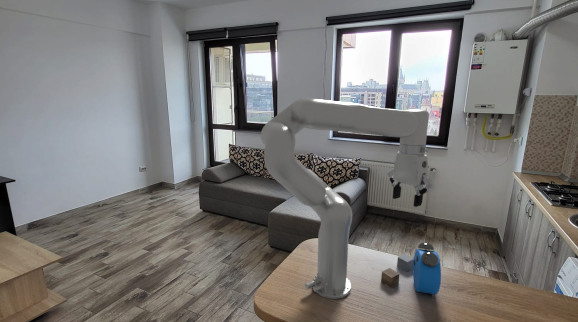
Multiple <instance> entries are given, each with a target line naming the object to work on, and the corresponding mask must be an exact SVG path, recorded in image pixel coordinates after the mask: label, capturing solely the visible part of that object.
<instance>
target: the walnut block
mask: <svg viewBox="0 0 578 322" xmlns="http://www.w3.org/2000/svg"><path fill="white" fill-rule="evenodd" d="M380 277H381V279H380V282H381V284H382V283H383V284H384V285H385V286H387V287H388V288H389V289H392V288H394V287H396V286H397V285H399V284H400V283H399V282H400V273H399V272H398V271H396V270H395V269H392V268H391V267H389V268H386V269H384V270H383V271H381V276H380Z"/></svg>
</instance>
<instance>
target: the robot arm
mask: <svg viewBox="0 0 578 322" xmlns="http://www.w3.org/2000/svg"><path fill="white" fill-rule="evenodd" d="M429 117H430V115H429V112H428V110H425V109H414V108H413V109H405V110H404V109H397V108H396V109H395V108H383V107H376V106H371V105H365V104H361V103H356V102H355V103H354V102H348V101H336V100H327V99H318V98H310V97H301V98H298V99H297V100H295V101H294V102H292V103H290V105H288V106H287V107H286V108H284V109H283V110H282V111H281V112H279V113H278V114H277V115H276V116H274V117H273V118H272V119H270V120H269V121H268V122H266V124H265V125H264V126H263V127H262V129H261V131H260V137H261V141H262V143H263V145H264V153H263V155H264V156H263V157H264V164H265V167H266V170H267V172H268V173H269V175H270V176H272V178H274V179H275V180H276V181H277V182H278V184H280V185H281V186H282V187H283V188H285V189H286V190H287V191H288V193H290V194H291V195H292V196H294V197H295V198H296V200H297V201H298V202H300V203H301V204H303V205H305V206H308V207H310V208H311V209H312V210H313V211H314V212H315V213H316V215H317V216H318V217H319V220H320V226H319V229H318V234H317V235H318V238H317V272H316V274H314V278H313V279H312V280H309V281H308V282H305V284H304V286H305V289H306V290H310V289H312V288H313V289H312V290H313V292H315V293H316V294H318V295H320V296H322V298H327V299H333V300H337V299H343V298H344V297H346V296H348V295H349V293H350V292H351V289H352V284H351V281H350V280H349V279H348V278H347V273H348V257H349V255H348V254H349V236H350V229H351V225H352V221H353V210H352V206H351V205H350V204H349V203H348V202H347V200H346V199H344V198H343V197H342V196H341V195H339V194H338V192H336V191H335V190H334V189H333V188H331V186H329V185H328V184H327V183H326V182H325V181H324V180H322V179H321V178H320V177H319V176H318V174H316V173H315V172H314V171H312V169H309V168H307V167H306V166H304V165H303V164H302V162H300V161H299V160H298V159H297V158H296V156H295V149H296V148H295V147H296V135H298V133H300V131H302V130H303V129H309V130H316V131H329V132H338V133H339V132H342V133H352V134H358V135H359V134H360V135H374V136H380V137H381V136H383V137H390V138H391V137H392V138H393V137H394V138H400V139H399V150H398V151H397V153H396V155H395V156H396V157H395V160H394V164H393V169H391V170H390V171H388V172H387V176H388V178H389V181H390V183H391V187H392V199H393V200H396V199H400V198H401V193H402V186H401V184H403V185H407V186H411V187H414V191H415V193H416V194H414V197H413V207H414V208H417V207H420V206H422V204H423V197H424V195H425V194H426V193H428V192H429V191H430V190H432V188H434V184H433V183H432V182H431V180H430V179H429V161H428V154H427V153H429V148H428V147H427V138H428V137H427V135H428V127H429V119H430V118H429Z"/></svg>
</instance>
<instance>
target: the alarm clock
mask: <svg viewBox="0 0 578 322" xmlns="http://www.w3.org/2000/svg"><path fill="white" fill-rule="evenodd" d="M413 255H414V256H413V258H414V262H413V269H412V273H413V274H412V276H413V277H412V279H413V287H414V289H415V291H416V292H417V293H418V292H419V293H424V294H431V297H432V298H434V295H438V293H439V291H440V289H441V283H442V282H441V281H442V268H441V267H442V265H441V259H440V256H439V253H438V252H437V251H435V247H434V245H433V244H432V243H429V242H427V241H425V242H423V241H422V242H420V243H419V244H418V245H417V249H416V250H415V252H414V254H413Z"/></svg>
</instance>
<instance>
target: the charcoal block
mask: <svg viewBox="0 0 578 322" xmlns="http://www.w3.org/2000/svg"><path fill="white" fill-rule="evenodd" d="M413 262H414V257H412V256H410V255H409V254H406V253H404V254H401V255H399V256H397V263H396V267H397V268H399V269H401V270H403V271H405V272H406V273H407V272H408V271H411V270H413Z"/></svg>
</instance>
